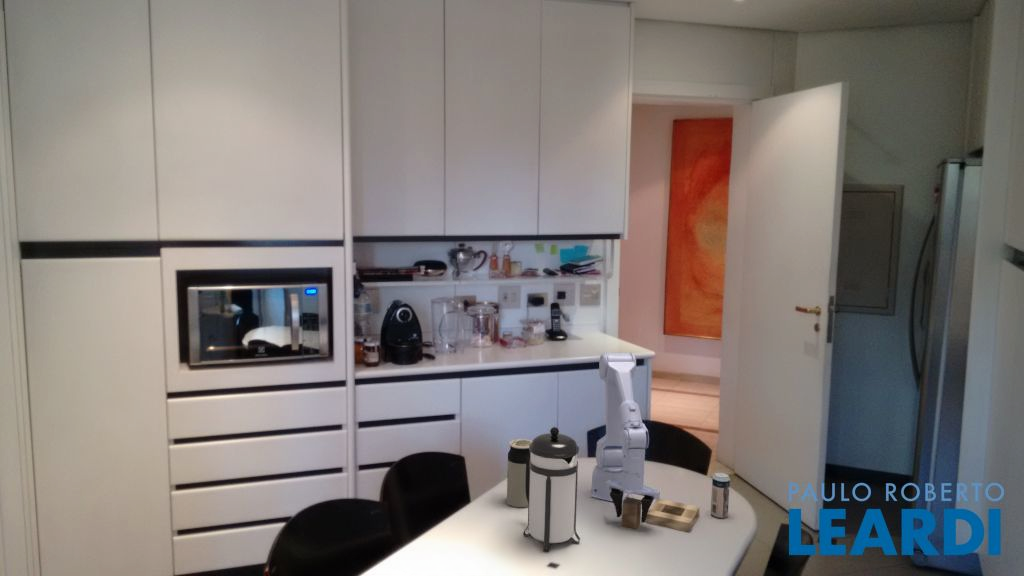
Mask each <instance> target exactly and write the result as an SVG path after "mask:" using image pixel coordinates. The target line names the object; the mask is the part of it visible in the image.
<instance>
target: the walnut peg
mask: <svg viewBox="0 0 1024 576" xmlns="http://www.w3.org/2000/svg"><path fill="white" fill-rule="evenodd" d="M641 500H642V499H638V498H634V497H629V496H627V497H626V498H625V499H624V500H623V501H622V515H621V527H622V528H626V529H629V530H633V529H634V531H636V530H637V529H638V528H639V527H640V525H641V516H642V504H641Z"/></svg>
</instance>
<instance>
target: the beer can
mask: <svg viewBox="0 0 1024 576" xmlns="http://www.w3.org/2000/svg"><path fill="white" fill-rule="evenodd" d="M730 483H731V478H730V476H729V474H727V473H725V472H722V471H721V472H720V471H719V472H717V471H716V472H714V473H713V475H712V479H711V500H710V501H711V502H710V515H712V516H713V517H715V518H717V519H724V518H726V517H728V516H729V504H730V503H729V501H730V500H729V499H730V487H731V486H730Z"/></svg>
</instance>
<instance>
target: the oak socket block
mask: <svg viewBox="0 0 1024 576" xmlns="http://www.w3.org/2000/svg"><path fill="white" fill-rule="evenodd" d="M700 507H701V506H697V505H692V504H687V503H684V502H683V503H682V502H678V501H673V500H667V499H664V498H659V499H658V500H656V499H655V502H654V503H653V504H651V506H650V508H649V510H648V513H647V517H646V521H645V523H648V524H652V525H656V526H661V527H665V528H670V529H674V530H678V531H683V532H686V533H690V532H691V530H692V528H693V527H694V525H695V523H696V522H697V520H698V518H699V517H700Z"/></svg>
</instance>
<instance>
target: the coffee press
mask: <svg viewBox="0 0 1024 576" xmlns="http://www.w3.org/2000/svg"><path fill="white" fill-rule="evenodd" d="M549 432H550V433H542V434H540V435H537V436H535V438H533V439H532V440H531V441H532V443H531V444H530V445H529V450H530V452H529V454H528V456H527V460H526V484H525V489H526V498H527V501H528V507H527V512H528V513H527V526H526V528H525V529H524V530H523V533H522V534H523V537H526V538H527V537H530V535H531V537H533V538H534V539H536V540H537V541H540V542H543V546H542V550H543V551H542V552H547V553H549V551H550V547H551V544H559V543H564V542H566V541H568V540H571V541H572V543H573V544H575V545H577V544H579V543H580V541H581V538H580V536H579V535H578V532H577V501H578V476H579V475H578V473H579V472H578V471H579V462H578V454H579V452H580V446H579V445H578V443H577V441H575V439H574V438H572V437H571V436H569V435H567V434H563V433H560V430H559V428H558V427H555V426H553V427H551V428H550V430H549ZM527 529H528V533H526V531H527ZM573 536H575V537H576V539H577V540H575V538H574V537H573Z"/></svg>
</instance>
